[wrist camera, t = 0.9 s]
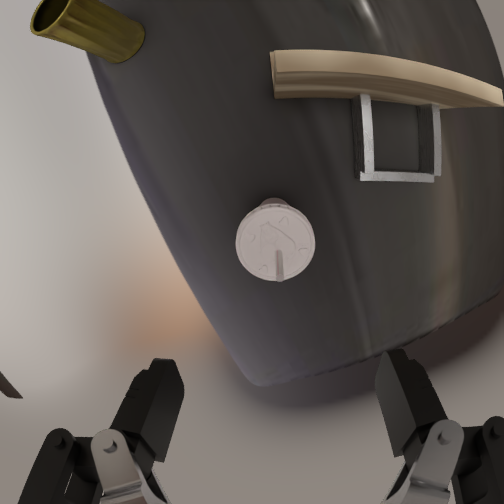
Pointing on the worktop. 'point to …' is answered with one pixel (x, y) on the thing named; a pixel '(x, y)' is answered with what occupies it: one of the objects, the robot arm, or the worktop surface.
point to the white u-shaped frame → (427, 144)
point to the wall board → (375, 79)
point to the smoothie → (275, 241)
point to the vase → (88, 28)
